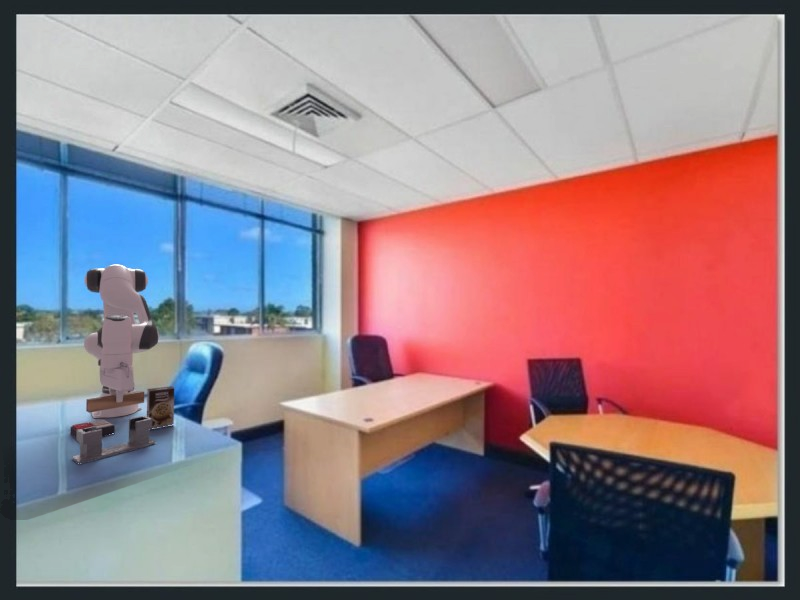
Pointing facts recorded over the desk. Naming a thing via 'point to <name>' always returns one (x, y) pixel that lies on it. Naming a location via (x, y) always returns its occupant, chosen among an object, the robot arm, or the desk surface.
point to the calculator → (99, 424)
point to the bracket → (93, 445)
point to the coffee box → (160, 406)
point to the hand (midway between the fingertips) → (116, 401)
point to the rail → (110, 403)
